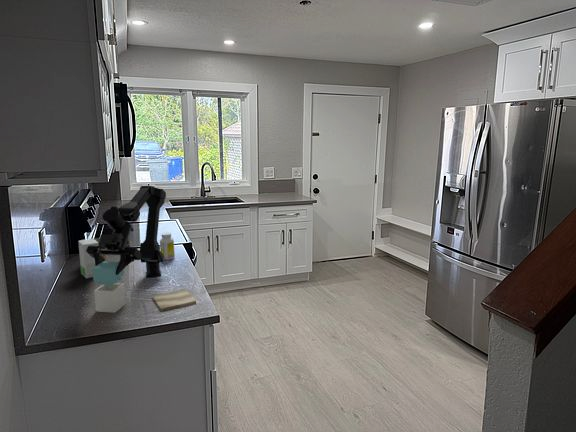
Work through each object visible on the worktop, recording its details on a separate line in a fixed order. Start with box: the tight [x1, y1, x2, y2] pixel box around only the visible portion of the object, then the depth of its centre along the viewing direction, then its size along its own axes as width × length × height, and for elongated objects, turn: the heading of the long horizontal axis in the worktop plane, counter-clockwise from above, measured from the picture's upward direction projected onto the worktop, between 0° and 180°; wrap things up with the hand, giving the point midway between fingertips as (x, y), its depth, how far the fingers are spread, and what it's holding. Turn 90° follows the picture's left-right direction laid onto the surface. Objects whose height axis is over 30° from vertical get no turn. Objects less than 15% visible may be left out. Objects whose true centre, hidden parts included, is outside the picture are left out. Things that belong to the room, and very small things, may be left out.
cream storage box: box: [93, 282, 127, 313], centre depth 141 cm, size 7×7×8 cm
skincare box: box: [78, 238, 99, 279], centre depth 173 cm, size 8×7×16 cm
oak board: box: [152, 288, 197, 312], centre depth 147 cm, size 13×13×1 cm
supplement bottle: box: [159, 232, 176, 261], centre depth 196 cm, size 7×7×13 cm
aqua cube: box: [92, 260, 125, 286], centre depth 139 cm, size 7×7×6 cm
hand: (106, 273), depth 137 cm, fingers closed on aqua cube, 7 cm apart
